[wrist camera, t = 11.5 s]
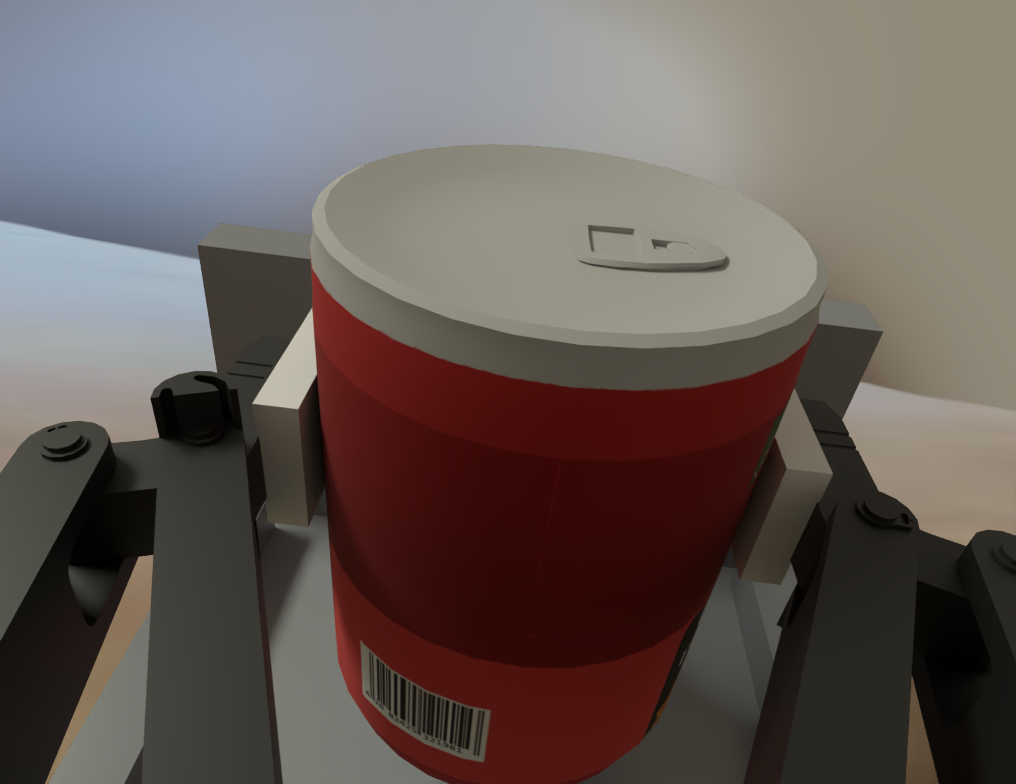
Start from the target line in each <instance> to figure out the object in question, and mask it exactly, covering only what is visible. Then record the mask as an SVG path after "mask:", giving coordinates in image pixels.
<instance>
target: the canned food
mask: <svg viewBox="0 0 1016 784" xmlns="http://www.w3.org/2000/svg"><path fill="white" fill-rule="evenodd" d="M312 221H313V234H312V238H311V243H310V259H311V275H312V290H313V301H312V312H313V326H314V340H315V354H316V368H317V381H318V395H319V409H320V423H321V437H322V451H323V464H324V478H325V492H326V506H327V520H328V534H329V548H330V561H331V575H332V589H333V603H334V617H335V631H336V642H337V654H338V663H339V666H340V669H341V672H342V674H343V677H344V680H345V683H346V686H347V689H348V692H349V693H350V695H351V696H352V698H353V699H354V701H355V703H356V704H357V706H358V707H359V709H360V710H361V712H362V713H363V715H364V717H365V718H366V720H367V721H368V723H369V724H370V725H371V727H372V728H373V730H374V731H375V733H376V734H377V735H378V736H379V737H380V738H381V739H382V740H383V741H384V742H385V743H386V744H387V745H388V746H389V747H390V748H391V749H392V750H393V751H394V752H395V753H396V754H397V755H398V756H399V757H401V758H402V759H404V760H405V761H407V762H408V763H410V764H411V765H413V766H415V767H416V768H418V769H419V770H421V771H422V772H424V773H425V774H427V775H428V776H431V777H433V778H436V779H438V780H441V781H443V782H446V783H448V784H578V783H580V782H582V781H585V780H587V779H589V778H591V777H594V776H596V775H598V774H599V773H600V772H602V771H603V770H605V769H606V768H607V767H609V766H610V765H611V764H613V763H614V762H615V761H617V760H618V759H620V758H621V757H622V756H624V755H625V754H626V753H628V752H629V751H630V750H632V749H633V748H634V747H636V746H637V745H638V744H639V743H640V742H641V741H642V740H643V738H644V737H645V736H646V735H647V734H648V732H649V731H650V730H651V729H652V728H653V726H654V725H655V724H656V723H657V722H658V720H659V718H660V716H661V714H662V712H663V710H664V707H665V705H666V703H667V701H668V699H669V697H670V695H671V693H672V690H673V688H674V685H675V683H676V680H677V678H678V675H679V673H680V670H681V668H682V665H683V663H684V660H685V658H686V655H687V653H688V650H689V648H690V645H691V643H692V640H693V638H694V636H695V633H696V631H697V628H698V626H699V623H700V621H701V618H702V616H703V613H704V611H705V608H706V606H707V603H708V601H709V598H710V596H711V593H712V591H713V588H714V586H715V583H716V581H717V578H718V576H719V574H720V571H721V569H722V566H723V564H724V561H725V559H726V556H727V554H728V551H729V549H730V546H731V544H732V541H733V539H734V536H735V534H736V531H737V529H738V526H739V524H740V521H741V519H742V517H743V514H744V512H745V509H746V507H747V504H748V502H749V499H750V497H751V494H752V492H753V489H754V487H755V484H756V482H757V479H758V477H759V474H760V472H761V469H762V467H763V464H764V462H765V459H766V457H767V455H768V452H769V450H770V447H771V445H772V442H773V440H774V437H775V435H776V432H777V430H778V427H779V425H780V422H781V420H782V417H783V415H784V412H785V410H786V407H787V405H788V402H789V400H790V398H791V395H792V393H793V390H794V388H795V385H796V382H797V379H798V375H799V372H800V368H801V366H802V363H803V361H804V358H805V356H806V353H807V351H808V348H809V345H810V343H811V340H812V338H813V335H814V333H815V330H816V328H817V325H818V323H819V311H820V305H821V302H822V300H823V297H824V294H825V292H826V289H827V267H826V265H825V263H824V261H823V259H822V257H821V255H820V253H819V251H818V250H817V248H816V247H815V246H814V245H813V244H812V243H811V242H810V241H809V240H808V239H807V238H806V237H805V236H804V235H803V234H802V233H801V232H800V231H799V230H798V229H797V228H795V227H794V226H792V225H791V224H789V223H788V222H787V221H785V220H784V219H782V218H781V217H780V216H778V215H777V214H775V213H774V212H772V211H771V210H769V209H768V208H766V207H764V206H762V205H760V204H758V203H756V202H755V201H753V200H751V199H748V198H747V197H745V196H743V195H741V194H739V193H737V192H734V191H731V190H729V189H727V188H724V187H722V186H720V185H717V184H715V183H712V182H710V181H707V180H704V179H701V178H697V177H695V176H691V175H689V174H686V173H682V172H679V171H676V170H672V169H668V168H665V167H660V166H657V165H653V164H649V163H645V162H641V161H637V160H631V159H627V158H622V157H617V156H611V155H606V154H601V153H593V152H586V151H579V150H572V149H564V148H552V147H540V146H528V145H467V146H466V145H465V146H450V147H441V148H432V149H423V150H418V151H413V152H408V153H404V154H398V155H394V156H390V157H387V158H384V159H381V160H378V161H375V162H372V163H369V164H366V165H363V166H360V167H357V168H355V169H354V170H352V171H350V172H348V173H346V174H344V175H342V176H340V177H339V178H336V179H335V180H334V181H333V182H332V183H331V184H330V185H329V186H327V187H326V188H325V189H324V190H323V191H322V192H321V193H320V194H319V196H318V199H317V201H316V203H315V206H314V208H313V210H312Z"/></svg>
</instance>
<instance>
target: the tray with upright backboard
mask: <svg viewBox="0 0 1016 784" xmlns="http://www.w3.org/2000/svg"><path fill="white" fill-rule="evenodd" d="M311 238H312V235H311V234H303V233H294V232H287V231H279V230H271V229H263V228H255V227H248V226H240V225H232V224H223V223H220V224H219V225H218V226H217V227H216V228H215V229H214V230H213V231H212V232H211V233H209V234H208V235H207V236H206V237H205V238H204V239H203V240H202V241H201V242H200V243H199V244H198V252H199V258H200V265H201V271H202V277H203V284H204V290H205V296H206V303H207V309H208V316H209V322H210V328H211V335H212V341H213V347H214V354H215V360H216V367H217V373H220V374H224V375H226V376H227V372H228V371H229V370H230V368H231V367H232V365H233V364H236V360H237V359H238V357H239V356H240V354H241V353H242V352H243V350H244V349H245V347H246V346H248V345H250V344H251V343H253V342H254V341H256V340H258V339H259V338H261V337H263V336H264V335H269V336H277V337H285V338H294V336H295V334H296V333H297V331H298V330H299V328H300V326H301V325H302V323H303V322H304V320H305V318H306V317H307V315H308V314H309V312H310V311H311V309H312V301H313V290H312V275H311V259H310V243H311ZM882 333H883V330H882V329H881V327H880V326H879V325H878V323H877V322H876V320H875V319H874V318H873V316H872V315H871V313H870V312H869V311H868V309H867V308H866V306H865V305H864V304H857V303H848V302H841V301H833V300H825V299H823V300H822V302H821V305H820V311H819V323H818V325H817V328H816V330H815V333H814V335H813V338H812V340H811V343H810V345H809V348H808V351H807V353H806V356H805V358H804V361H803V363H802V366H801V368H800V372H799V375H798V379H797V382H796V385H795V388H794V389H795V391H796V393H797V395H798V397H799V398H803V399H811V400H819V401H824V402H825V403H826V404H827V405H828V406H829V407H830V408H831V409H832V410H833V411H835V412H836V413H837V414H838V415H839V416H840V417H841V419H843V417H844V415H845V413H846V410H847V408H848V406H849V404H850V402H851V400H852V398H853V395H854V393H855V391H856V389H857V387H858V385H859V383H860V380H861V378H862V376H863V374H864V372H865V370H866V368H867V365H868V363H869V361H870V359H871V357H872V355H873V353H874V350H875V348H876V346H877V344H878V342H879V340H880V338H881V336H882ZM256 521H257V528H258V536H259V546H260V556H261V566H262V576H263V586H264V596H265V607H266V617H267V627H268V637H269V647H270V657H271V667H272V677H273V688H274V698H275V708H276V718H277V728H278V738H279V748H280V758H281V769H282V779H283V784H448V783H446V782H443V781H441V780H438V779H436V778H433V777H431V776H428V775H427V774H425V773H424V772H422V771H421V770H419V769H418V768H416V767H415V766H413V765H411V764H410V763H408V762H407V761H405V760H404V759H402V758H401V757H399V756H398V755H397V754H396V753H395V752H394V751H393V750H392V749H391V748H390V747H389V746H388V745H387V744H386V743H385V742H384V741H383V740H382V739H381V738H380V737H379V736H378V735H377V734H376V733H375V731H374V730H373V728H372V727H371V725H370V724H369V723H368V721H367V720H366V718H365V717H364V715H363V713H362V712H361V710H360V709H359V707H358V706H357V704H356V703H355V701H354V699H353V698H352V696H351V695H350V693H349V692H348V689H347V686H346V683H345V680H344V677H343V674H342V672H341V669H340V666H339V663H338V654H337V642H336V631H335V617H334V603H333V589H332V575H331V561H330V548H329V534H328V520H327V506H326V492H325V489H324V491H323V493H322V496H321V498H320V501H319V503H318V506H317V508H316V510H315V513H314V515H313V518H312V520H311V522H310V525H309V527H303V526H295V525H287V524H278V523H270V522H268V519H267V511H266V504H265V502H264V504H263V506H262V508H261V510H260V512H259V514H258V516H257V518H256ZM796 584H797V579H796V576H795V573H794V570H793V567H792V564H790V566H789V568H788V570H787V573H786V575H785V577H784V579H783V581H782V583H781V585H778V584H770V583H762V582H753V581H745V580H740V578H739V574H738V570H737V566H736V562H735V558H734V554H733V550H732V546H730V549H729V551H728V554H727V556H726V559H725V561H724V564H723V566H722V569H721V571H720V574H719V576H718V578H717V581H716V583H715V586H714V588H713V591H712V593H711V596H710V598H709V601H708V603H707V606H706V608H705V611H704V613H703V616H702V618H701V621H700V623H699V626H698V628H697V631H696V633H695V636H694V638H693V640H692V643H691V645H690V648H689V650H688V653H687V655H686V658H685V660H684V663H683V665H682V668H681V670H680V673H679V675H678V678H677V680H676V683H675V685H674V688H673V690H672V693H671V695H670V697H669V699H668V701H667V703H666V705H665V707H664V710H663V712H662V714H661V716H660V718H659V720H658V722H657V723H656V724H655V725H654V726H653V728H652V729H651V730H650V731H649V732H648V734H647V735H646V736H645V737H644V738H643V740H642V741H641V742H640V743H639V744H638V745H637V746H636V747H634V748H633V749H632V750H630V751H629V752H628V753H626V754H625V755H624V756H622V757H621V758H620V759H618V760H617V761H615V762H614V763H613V764H611V765H610V766H609V767H607V768H606V769H605V770H603V771H602V772H600V773H599V774H598V775H596V776H594V777H591V778H589V779H587V780H585V781H582V782H580V783H578V784H743V783H744V779H745V775H746V771H747V767H748V763H749V759H750V755H751V751H752V747H753V743H754V739H755V735H756V731H757V727H758V723H759V718H760V714H761V710H762V706H763V702H764V698H765V694H766V690H767V686H768V682H769V678H770V674H771V670H772V666H773V662H774V658H775V654H776V650H777V646H778V642H779V638H780V634H781V630H782V627H779V626H777V623H778V621H779V618H780V616H781V614H782V612H783V610H784V608H785V606H786V604H787V602H788V600H789V598H790V596H791V594H792V592H793V590H794V588H795V586H796ZM150 612H151V610H150V611H149V613H148V615H147V617H146V618H145V620H144V622H143V623H142V625H141V627H140V628H139V630H138V632H137V634H136V635H135V637H134V639H133V640H132V642H131V644H130V646H129V647H128V649H127V651H126V652H125V654H124V656H123V657H122V659H121V661H120V663H119V664H118V666H117V668H116V669H115V671H114V673H113V675H112V676H111V678H110V680H109V681H108V683H107V685H106V687H105V688H104V690H103V692H102V693H101V695H100V697H99V698H98V700H97V702H96V704H95V705H94V707H93V709H92V710H91V712H90V714H89V716H88V717H87V719H86V721H85V722H84V724H83V726H82V727H81V729H80V731H79V733H78V734H77V736H76V738H75V739H74V741H73V743H72V745H71V746H70V748H69V750H68V751H67V753H66V755H65V757H64V758H63V760H62V762H61V763H60V765H59V767H58V768H57V770H56V772H55V774H54V775H53V777H52V779H51V780H50V782H49V784H141V782H142V763H143V744H144V726H145V707H146V688H147V669H148V650H149V631H150Z"/></svg>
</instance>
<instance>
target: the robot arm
mask: <svg viewBox="0 0 1016 784" xmlns="http://www.w3.org/2000/svg"><path fill="white" fill-rule="evenodd" d="M151 403H152V407H153V411H154V416H155V420H156V424H157V428H158V433H159V438H155V439H149V440H142V441H131V442H120V443H111V441H110V437H109V435H108V433H107V432H106V430H105V428H103V427H101V426H99V425H97V424H95V423H91V422H84V421H73V422H62V423H59V424H55V425H52V426H49V427H45V428H43V429H41V430H40V431H38V432H36V433H34V434H32V435H30V436H29V437H28V438H27V439H26V440H25V441H24V442H23V443H22V444H21V445H20V446H19V447H18V449H17V450H16V452H15V453H14V455H13V456H12V457H11V459H10V460H9V462H8V463H7V465H6V466H5V467H4V469H3V470H2V472H1V473H0V784H45V782H46V780H47V777H48V775H49V772H50V770H51V767H52V765H53V763H54V760H55V758H56V755H57V753H58V750H59V748H60V746H61V743H62V741H63V738H64V736H65V734H66V731H67V729H68V726H69V724H70V721H71V719H72V717H73V714H74V712H75V709H76V707H77V704H78V702H79V700H80V697H81V695H82V692H83V690H84V688H85V685H86V683H87V680H88V678H89V675H90V673H91V671H92V668H93V666H94V663H95V661H96V658H97V656H98V654H99V651H100V649H101V646H102V644H103V642H104V639H105V637H106V634H107V632H108V629H109V627H110V625H111V622H112V620H113V617H114V615H115V612H116V610H117V608H118V605H119V603H120V600H121V598H122V595H123V593H124V591H125V588H126V586H127V583H128V581H129V579H130V576H131V574H132V571H133V569H134V566H135V564H136V562H137V559H138V557H139V556H147V555H153V574H152V593H151V612H150V631H149V650H148V669H147V688H146V707H145V726H144V744H143V763H142V782H141V784H283V779H282V769H281V758H280V748H279V738H278V728H277V718H276V708H275V698H274V688H273V677H272V667H271V657H270V647H269V637H268V627H267V617H266V607H265V596H264V586H263V576H262V566H261V556H260V546H259V536H258V528H257V521H256V518H257V516H258V514H259V512H260V510H261V508H262V506H263V504H264V502H265V504H266V511H267V519H268V522H270V523H278V524H287V525H295V526H303V527H309V525H310V522H311V520H312V518H313V515H314V513H315V510H316V508H317V506H318V503H319V501H320V498H321V496H322V493H323V491H324V489H325V478H324V464H323V451H322V437H321V423H320V409H319V395H318V381H317V368H316V354H315V340H314V326H313V312H312V309H311V311H310V312H309V314H308V315H307V317H306V318H305V320H304V322H303V323H302V325H301V326H300V328H299V330H298V331H297V333H296V334H295V336H294V338H285V337H277V336H269V335H264V336H263V337H261V338H259V339H258V340H256V341H254V342H253V343H251V344H250V345H248V346H246V347H245V349H244V350H243V352H242V353H241V354H240V356H239V357H238V359H237V360H236V364H233V365H232V367H231V368H230V370H229V371H228V372H227V376H226V375H224V374H220V373H215V372H211V371H193V372H188V373H183V374H179V375H176V376H174V377H172V378H169V379H167V380H165V381H163V382H162V383H161V384H160V385H158V386H157V387H156V388H155V389H154V391H153V393H152V396H151ZM731 546H732V550H733V554H734V558H735V562H736V566H737V570H738V574H739V578H740V580H745V581H753V582H762V583H770V584H778V585H781V583H782V581H783V579H784V577H785V575H786V573H787V570H788V568H789V566H790V564H792V567H793V570H794V573H795V576H796V579H797V584H796V586H795V588H794V590H793V592H792V594H791V596H790V598H789V600H788V602H787V604H786V606H785V608H784V610H783V612H782V614H781V616H780V618H779V621H778V623H777V626H779V627H782V630H781V634H780V638H779V642H778V646H777V650H776V654H775V658H774V662H773V666H772V670H771V674H770V678H769V682H768V686H767V690H766V694H765V698H764V702H763V706H762V710H761V714H760V718H759V723H758V727H757V731H756V735H755V739H754V743H753V747H752V751H751V755H750V759H749V763H748V767H747V771H746V775H745V779H744V783H743V784H905V780H906V763H907V745H908V727H909V710H910V692H911V675H912V676H913V680H914V684H915V688H916V693H917V697H918V701H919V705H920V709H921V713H922V717H923V721H924V725H925V729H926V733H927V737H928V741H929V745H930V749H931V753H932V757H933V761H934V765H935V769H936V773H937V777H938V782H939V784H1016V536H1015V535H1012V534H1009V533H1006V532H1003V531H995V530H985V531H981V532H977V533H976V534H975V535H974V537H973V538H972V539H971V541H970V542H969V544H968V545H967V546H964V545H961V544H958V543H955V542H952V541H949V540H947V539H944V538H941V537H938V536H935V535H932V534H929V533H927V532H924V531H922V530H920V529H919V525H918V521H917V519H916V517H915V516H914V515H913V514H912V512H911V511H910V510H909V509H908V508H907V507H906V506H904V505H903V504H902V503H901V502H899V501H898V500H897V499H895V498H893V497H891V496H889V495H886V494H884V493H882V492H879V491H878V489H877V487H876V485H875V483H874V481H873V479H872V477H871V475H870V473H869V471H868V469H867V467H866V466H865V464H864V462H863V460H862V458H861V456H860V454H859V452H858V450H856V446H855V444H854V442H853V440H852V438H851V437H849V432H848V431H847V429H846V427H845V425H844V423H843V421H842V419H841V417H840V416H839V415H838V414H837V413H836V412H835V411H833V410H832V409H831V408H830V407H829V406H828V405H827V404H826V403H825V402H824V401H819V400H811V399H803V398H799V397H798V395H797V393H796V391H795V389H794V390H793V393H792V395H791V398H790V400H789V402H788V405H787V407H786V410H785V412H784V415H783V417H782V420H781V422H780V425H779V427H778V430H777V432H776V435H775V437H774V440H773V442H772V445H771V447H770V450H769V452H768V455H767V457H766V459H765V462H764V464H763V467H762V469H761V472H760V474H759V477H758V479H757V482H756V484H755V487H754V489H753V492H752V494H751V497H750V499H749V502H748V504H747V507H746V509H745V512H744V514H743V517H742V519H741V521H740V524H739V526H738V529H737V531H736V534H735V536H734V539H733V541H732V544H731Z"/></svg>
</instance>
